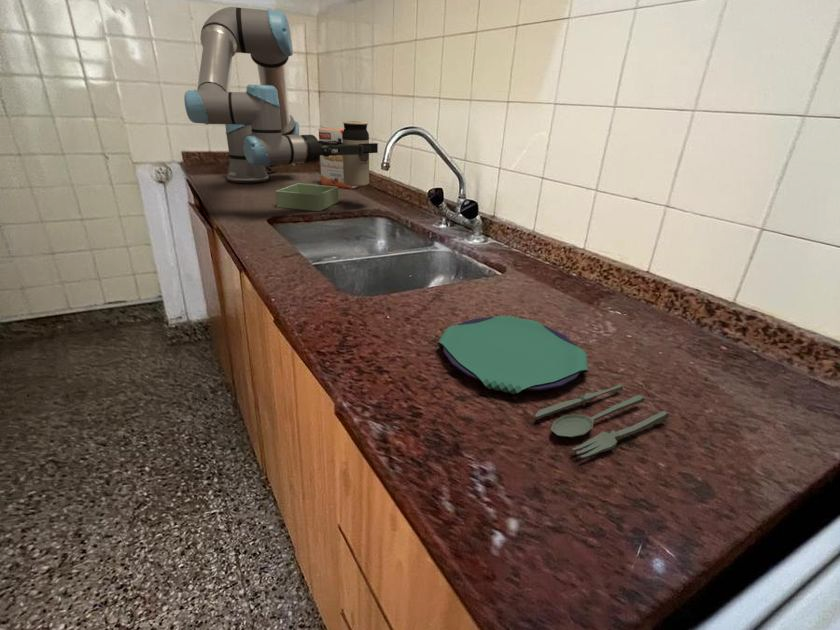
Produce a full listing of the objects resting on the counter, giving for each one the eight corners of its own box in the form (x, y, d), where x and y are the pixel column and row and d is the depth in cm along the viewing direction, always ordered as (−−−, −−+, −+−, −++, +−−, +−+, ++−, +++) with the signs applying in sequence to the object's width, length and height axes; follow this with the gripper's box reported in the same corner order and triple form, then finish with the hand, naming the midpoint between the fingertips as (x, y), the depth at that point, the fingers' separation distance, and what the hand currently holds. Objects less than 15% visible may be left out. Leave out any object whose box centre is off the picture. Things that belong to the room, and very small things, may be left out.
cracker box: (320, 185, 175) (317, 127, 166) (329, 183, 180) (326, 127, 171) (351, 189, 171) (350, 130, 162) (359, 187, 176) (358, 129, 167)
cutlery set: (520, 318, 77) (521, 306, 76) (681, 422, 53) (687, 407, 52) (417, 341, 68) (418, 328, 67) (555, 478, 45) (559, 460, 44)
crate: (298, 198, 154) (297, 183, 152) (338, 202, 151) (338, 186, 149) (276, 207, 141) (275, 190, 139) (319, 211, 138) (318, 195, 136)
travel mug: (339, 182, 142) (337, 121, 134) (361, 181, 146) (360, 121, 139) (351, 187, 136) (350, 122, 128) (374, 185, 141) (373, 123, 133)
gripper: (286, 158, 134) (350, 155, 148) (321, 168, 120) (389, 163, 134) (283, 131, 131) (350, 130, 145) (319, 138, 117) (389, 136, 131)
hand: (368, 146), depth 139 cm, fingers closed on travel mug, 8 cm apart
